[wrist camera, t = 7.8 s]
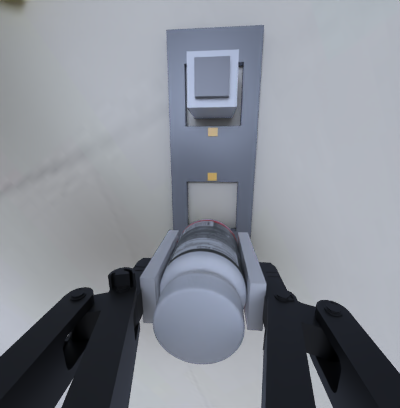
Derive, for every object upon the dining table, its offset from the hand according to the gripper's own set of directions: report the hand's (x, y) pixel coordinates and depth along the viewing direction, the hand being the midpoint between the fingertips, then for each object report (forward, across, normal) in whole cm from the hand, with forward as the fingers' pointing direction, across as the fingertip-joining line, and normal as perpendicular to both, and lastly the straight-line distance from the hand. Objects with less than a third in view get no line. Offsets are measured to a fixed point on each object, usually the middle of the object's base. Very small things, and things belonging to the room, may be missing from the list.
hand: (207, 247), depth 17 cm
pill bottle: (+1, 0, 0) cm, 1 cm away
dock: (+14, 0, +7) cm, 15 cm away
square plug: (+14, 0, +14) cm, 20 cm away
